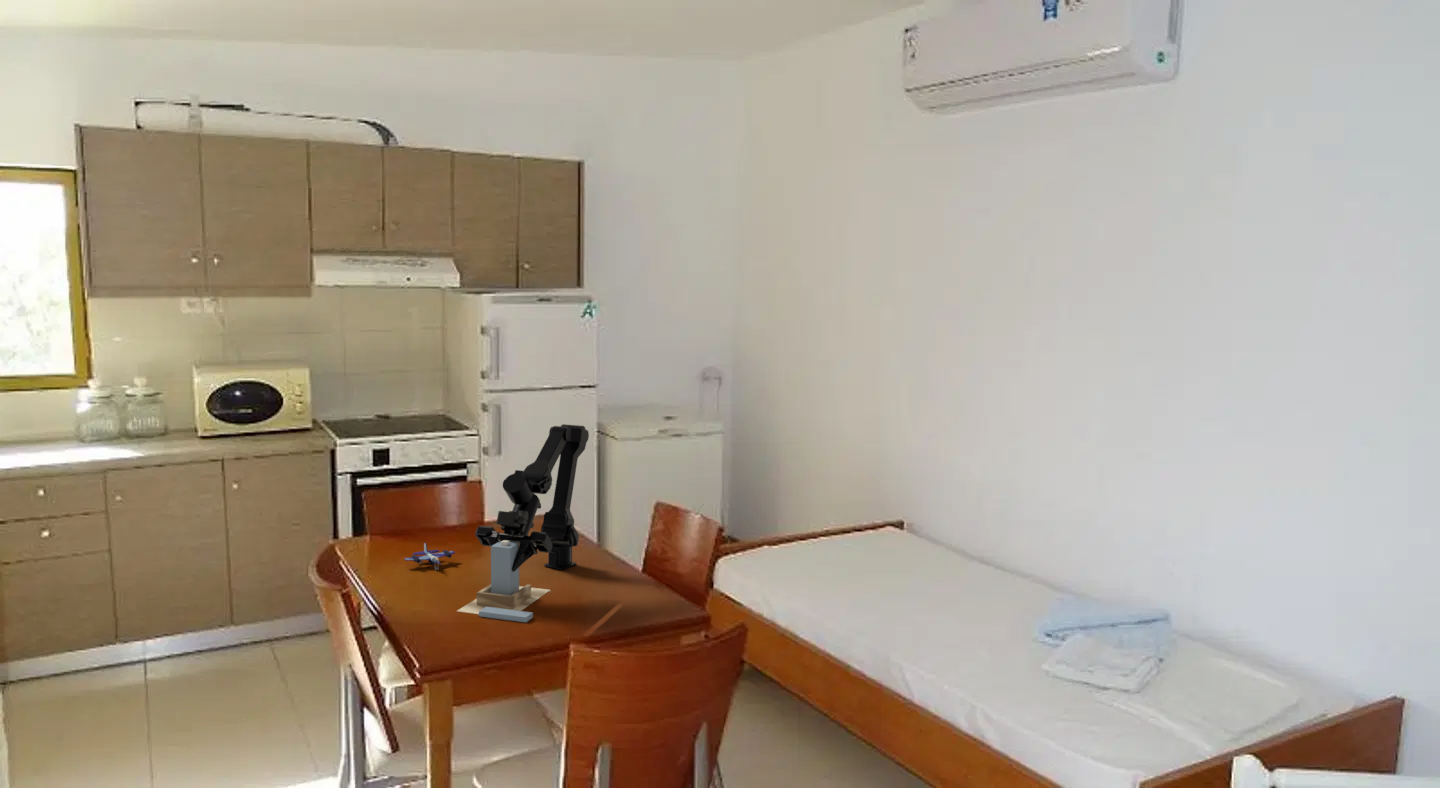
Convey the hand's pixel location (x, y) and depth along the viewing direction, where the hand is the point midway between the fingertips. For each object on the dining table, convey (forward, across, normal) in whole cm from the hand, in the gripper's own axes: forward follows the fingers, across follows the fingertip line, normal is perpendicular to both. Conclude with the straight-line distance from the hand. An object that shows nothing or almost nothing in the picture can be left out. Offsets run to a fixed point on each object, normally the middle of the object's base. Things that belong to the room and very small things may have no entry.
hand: (502, 569), depth 250 cm
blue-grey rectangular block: (+4, 0, +6) cm, 7 cm away
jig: (+5, 0, +7) cm, 9 cm away
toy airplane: (-9, -32, +22) cm, 40 cm away
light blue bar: (+12, +6, -1) cm, 14 cm away
